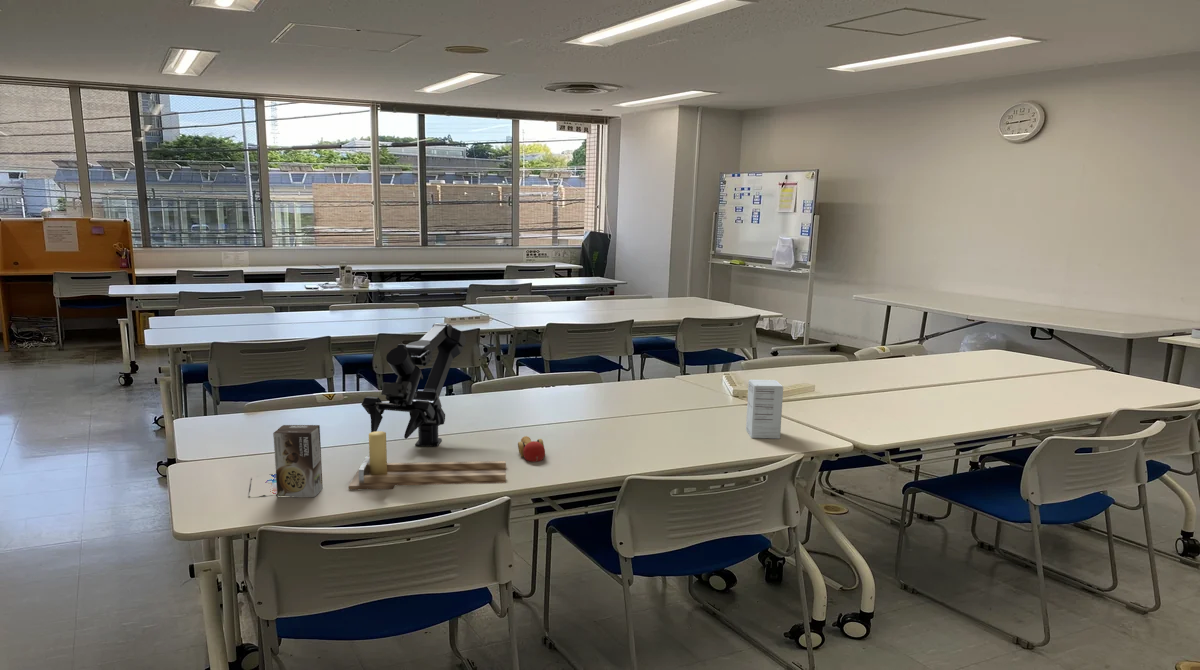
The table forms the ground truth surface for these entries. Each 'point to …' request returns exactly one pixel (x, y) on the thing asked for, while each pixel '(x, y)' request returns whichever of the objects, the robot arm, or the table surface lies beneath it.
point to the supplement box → (764, 408)
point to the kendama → (531, 449)
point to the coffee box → (298, 460)
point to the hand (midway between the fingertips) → (388, 436)
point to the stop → (364, 469)
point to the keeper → (378, 453)
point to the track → (434, 474)
